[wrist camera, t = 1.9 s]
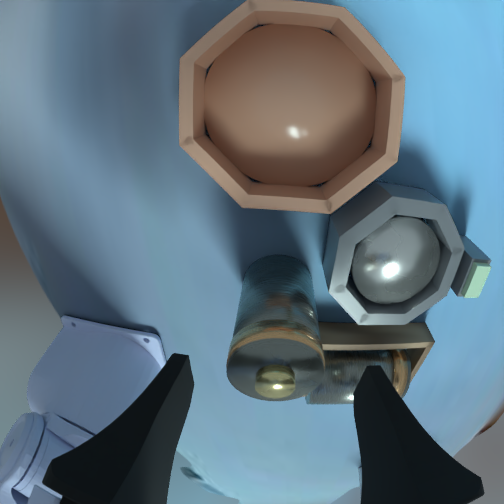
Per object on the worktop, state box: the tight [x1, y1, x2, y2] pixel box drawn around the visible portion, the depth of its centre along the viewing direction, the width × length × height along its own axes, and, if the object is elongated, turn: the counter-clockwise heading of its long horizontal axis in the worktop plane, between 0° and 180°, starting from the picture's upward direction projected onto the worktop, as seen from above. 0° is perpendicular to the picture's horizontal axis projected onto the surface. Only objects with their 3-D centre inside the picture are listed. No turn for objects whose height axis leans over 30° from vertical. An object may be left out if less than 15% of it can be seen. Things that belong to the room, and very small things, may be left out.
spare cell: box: [305, 349, 411, 404], centre depth 17 cm, size 7×4×4 cm, turn 88°
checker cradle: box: [323, 181, 491, 325], centre depth 13 cm, size 9×7×3 cm
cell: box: [226, 255, 325, 401], centre depth 14 cm, size 4×4×7 cm
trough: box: [304, 322, 435, 396], centre depth 18 cm, size 10×6×2 cm, turn 88°
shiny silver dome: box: [350, 214, 440, 304], centre depth 14 cm, size 5×5×1 cm
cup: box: [179, 0, 405, 214], centre depth 11 cm, size 9×9×2 cm
